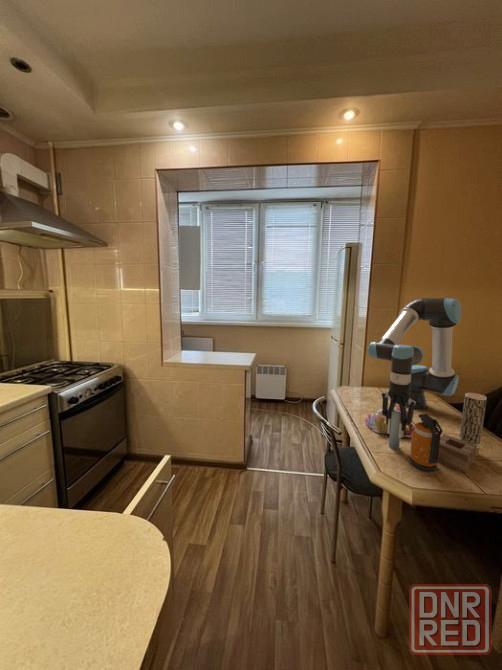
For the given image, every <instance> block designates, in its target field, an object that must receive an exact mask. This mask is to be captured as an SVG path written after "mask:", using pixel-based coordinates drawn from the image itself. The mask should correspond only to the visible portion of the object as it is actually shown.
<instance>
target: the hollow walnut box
mask: <svg viewBox="0 0 502 670" xmlns="http://www.w3.org/2000/svg"><path fill="white" fill-rule="evenodd" d="M476 446H477V445H474V444H472V443H469V442H466V441H463V440H460V439H459V438H457V437H454V436H451V435H449V434H445V433H444V434H441V436H440V445H439V453H438V463H442V464H444V465H446V466H448V467H451V468H453V469H456V470H458V471H460V472H463V473H467V471H468V470H469V469H470V468H471V466H472V465H473V464H474V463H475V460H476V459H475V458H476V457H475V453H476Z"/></svg>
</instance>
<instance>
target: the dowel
mask: <svg viewBox="0 0 502 670" xmlns="http://www.w3.org/2000/svg"><path fill="white" fill-rule="evenodd" d="M401 422H402V421H401V412H400V411H399V410H395V409H394V410H392V415H391V426H390V435H389V437H388V447H389V448H390V449H392V450H399V449H400V441H401V438H398V435H399V424H400V423H401Z"/></svg>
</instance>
